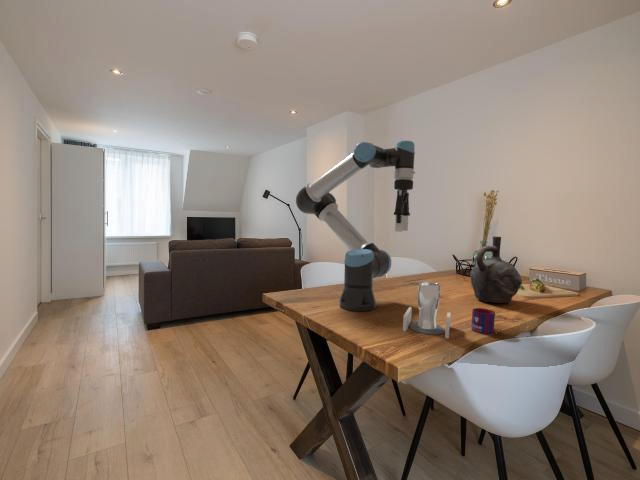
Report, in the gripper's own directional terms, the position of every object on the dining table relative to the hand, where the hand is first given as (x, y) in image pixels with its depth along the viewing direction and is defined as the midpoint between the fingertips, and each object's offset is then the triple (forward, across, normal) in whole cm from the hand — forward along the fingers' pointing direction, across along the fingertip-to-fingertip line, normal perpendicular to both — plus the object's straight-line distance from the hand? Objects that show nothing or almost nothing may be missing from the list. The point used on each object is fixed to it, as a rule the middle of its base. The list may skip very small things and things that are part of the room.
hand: (401, 231), depth 134 cm
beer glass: (+31, -25, -14) cm, 43 cm away
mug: (+32, -16, -32) cm, 48 cm away
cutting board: (+33, +64, -60) cm, 94 cm away
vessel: (+32, +29, -37) cm, 57 cm away
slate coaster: (+32, -25, -14) cm, 43 cm away
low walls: (+32, -25, -14) cm, 43 cm away
